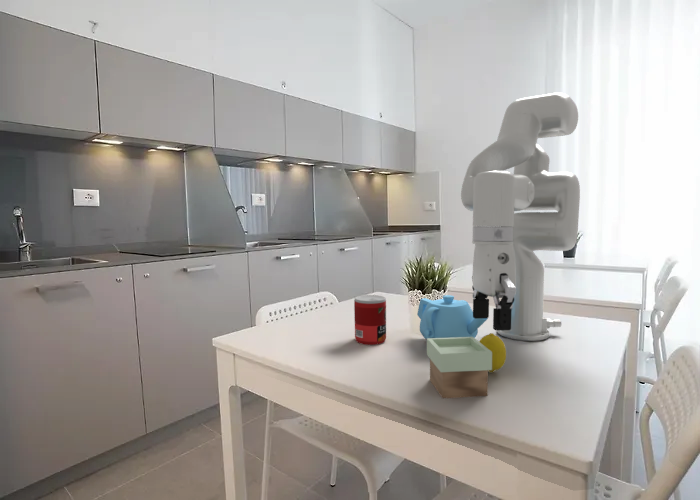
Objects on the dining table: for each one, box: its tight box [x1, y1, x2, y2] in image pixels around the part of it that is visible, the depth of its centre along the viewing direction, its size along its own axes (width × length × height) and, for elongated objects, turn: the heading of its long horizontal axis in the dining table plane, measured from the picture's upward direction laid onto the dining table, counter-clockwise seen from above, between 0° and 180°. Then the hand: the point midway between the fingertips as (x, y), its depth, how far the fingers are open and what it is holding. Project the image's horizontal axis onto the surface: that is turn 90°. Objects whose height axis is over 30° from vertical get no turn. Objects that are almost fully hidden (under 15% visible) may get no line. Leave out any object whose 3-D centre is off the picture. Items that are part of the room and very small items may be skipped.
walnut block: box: [429, 358, 489, 399], centre depth 76 cm, size 8×8×5 cm
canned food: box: [353, 294, 387, 346], centre depth 104 cm, size 8×8×11 cm
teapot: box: [417, 294, 489, 340], centre depth 101 cm, size 20×17×12 cm
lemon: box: [478, 333, 507, 374], centre depth 82 cm, size 6×6×8 cm
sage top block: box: [426, 337, 492, 372], centre depth 75 cm, size 9×9×3 cm
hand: (490, 323), depth 81 cm, fingers open, 9 cm apart
